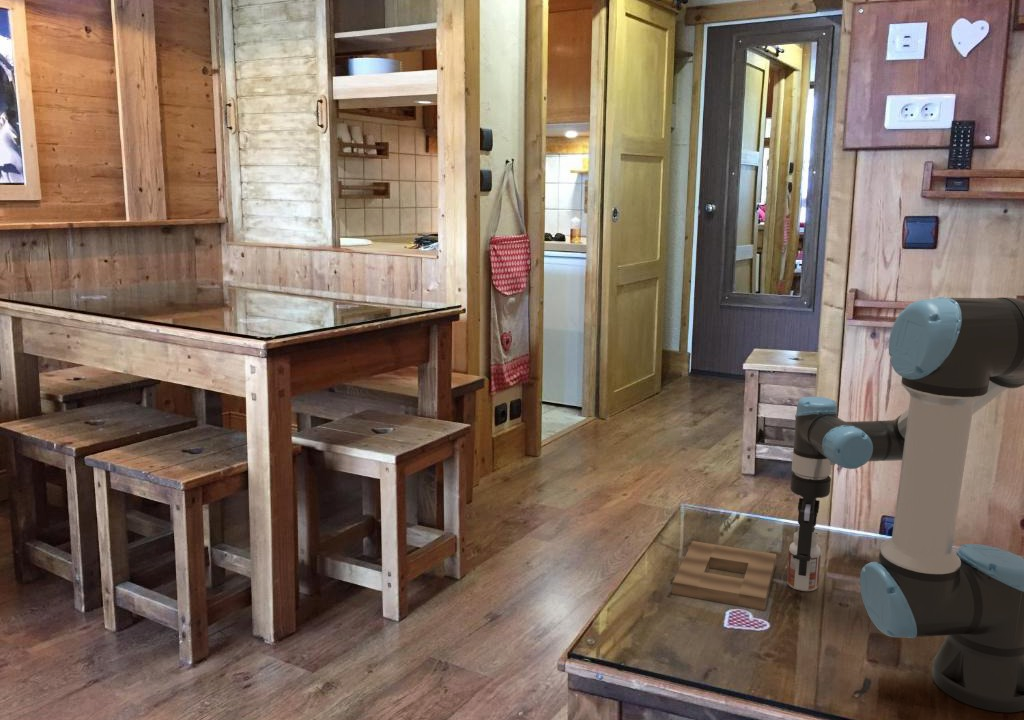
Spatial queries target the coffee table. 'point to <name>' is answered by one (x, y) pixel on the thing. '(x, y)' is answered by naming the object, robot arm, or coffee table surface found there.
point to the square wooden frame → (724, 588)
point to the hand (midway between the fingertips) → (802, 577)
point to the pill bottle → (814, 563)
